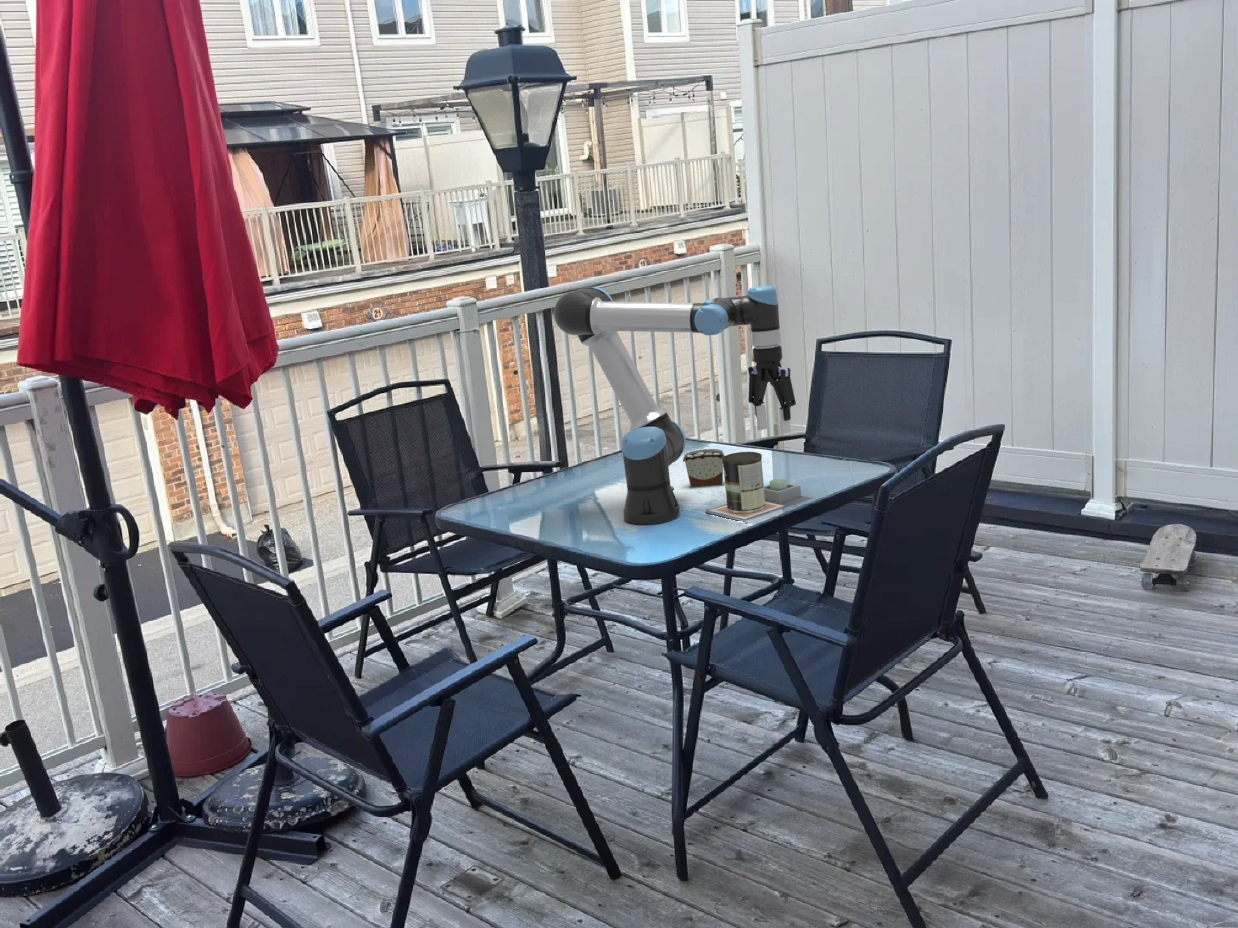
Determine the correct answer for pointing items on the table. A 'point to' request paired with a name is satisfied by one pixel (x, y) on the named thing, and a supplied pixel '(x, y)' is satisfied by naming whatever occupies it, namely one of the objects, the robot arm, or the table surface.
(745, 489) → the coffee can
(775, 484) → the button
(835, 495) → the table surface
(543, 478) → the table surface
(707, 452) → the food container
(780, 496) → the pad with button box
